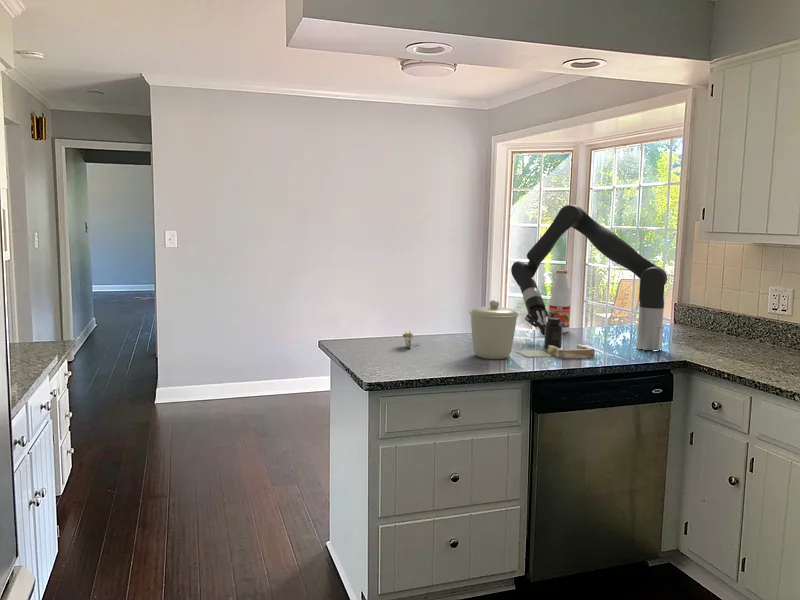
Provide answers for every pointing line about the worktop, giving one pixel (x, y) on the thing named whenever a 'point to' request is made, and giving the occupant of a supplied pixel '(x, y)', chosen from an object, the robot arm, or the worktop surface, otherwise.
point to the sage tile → (534, 353)
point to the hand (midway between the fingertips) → (545, 334)
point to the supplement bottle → (553, 333)
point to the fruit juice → (561, 299)
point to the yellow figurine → (405, 336)
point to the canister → (493, 330)
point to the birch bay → (571, 352)
